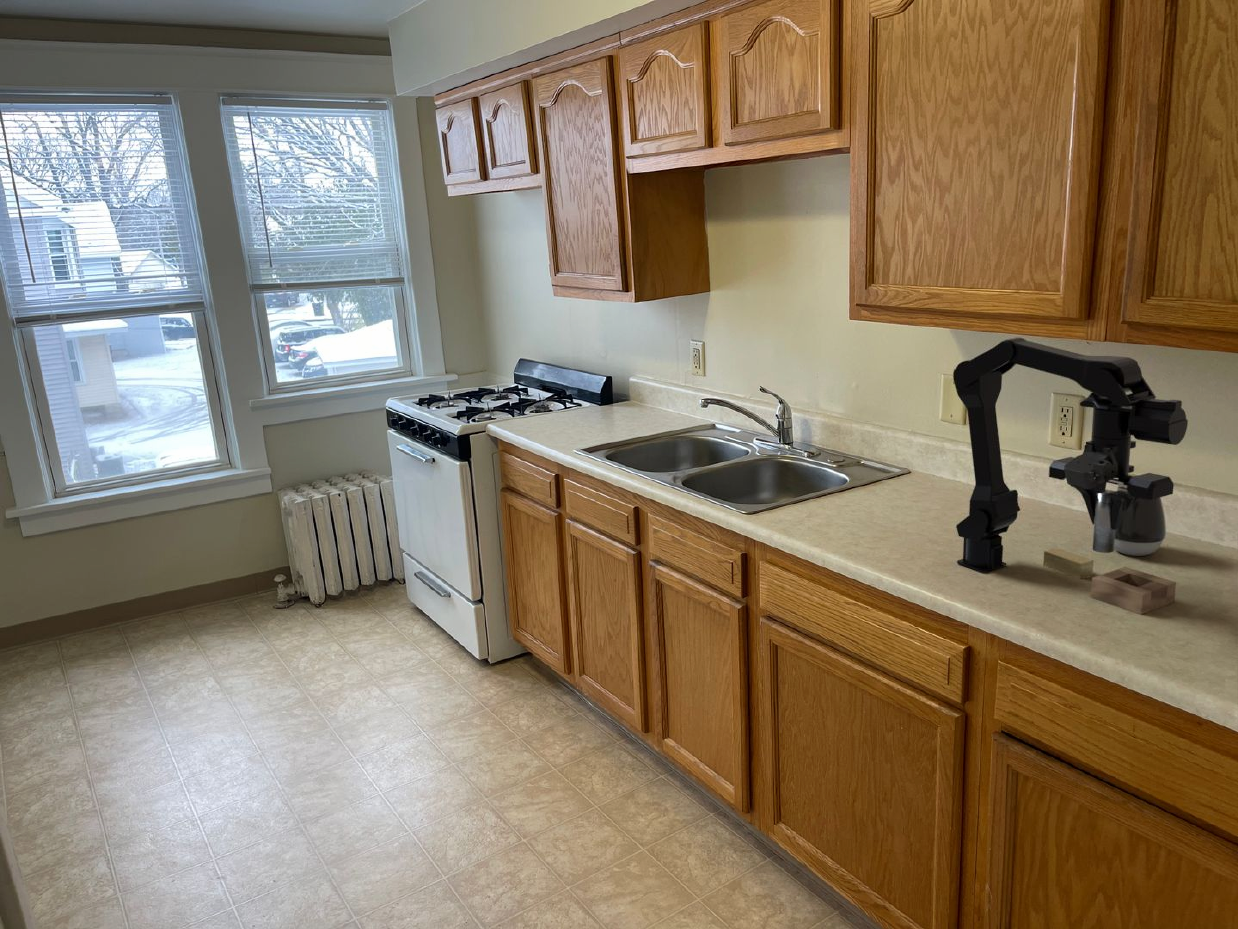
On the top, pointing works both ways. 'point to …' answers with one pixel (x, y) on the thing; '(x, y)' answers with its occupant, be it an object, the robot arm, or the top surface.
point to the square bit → (1068, 563)
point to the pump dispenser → (1141, 528)
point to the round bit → (1103, 523)
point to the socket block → (1133, 590)
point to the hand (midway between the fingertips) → (1104, 526)
